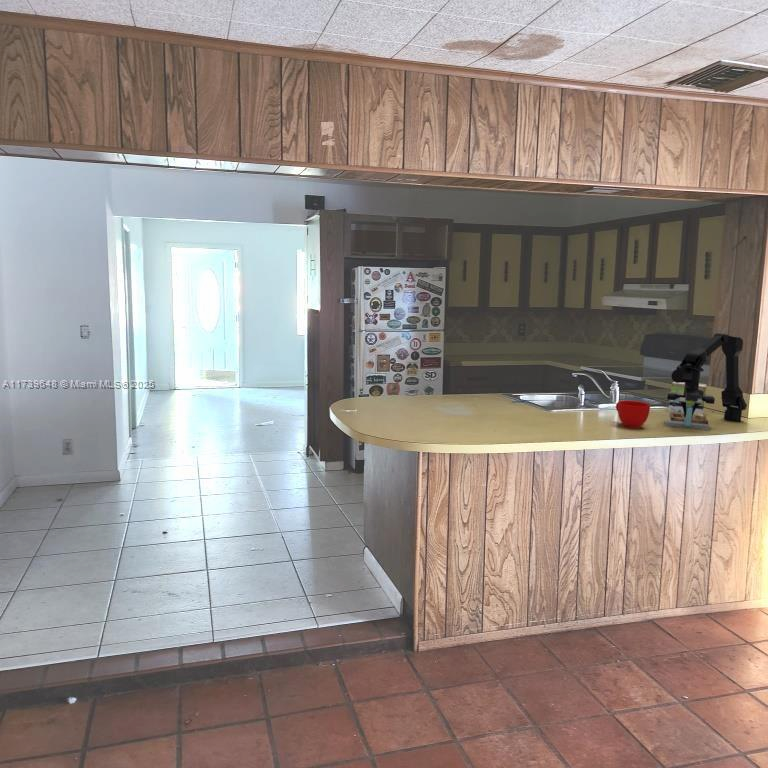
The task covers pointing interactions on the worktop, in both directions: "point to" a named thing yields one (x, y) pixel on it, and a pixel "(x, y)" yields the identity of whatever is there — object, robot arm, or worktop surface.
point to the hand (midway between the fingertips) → (687, 417)
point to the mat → (693, 425)
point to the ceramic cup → (632, 413)
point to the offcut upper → (698, 416)
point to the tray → (681, 418)
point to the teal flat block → (688, 415)
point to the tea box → (677, 407)
